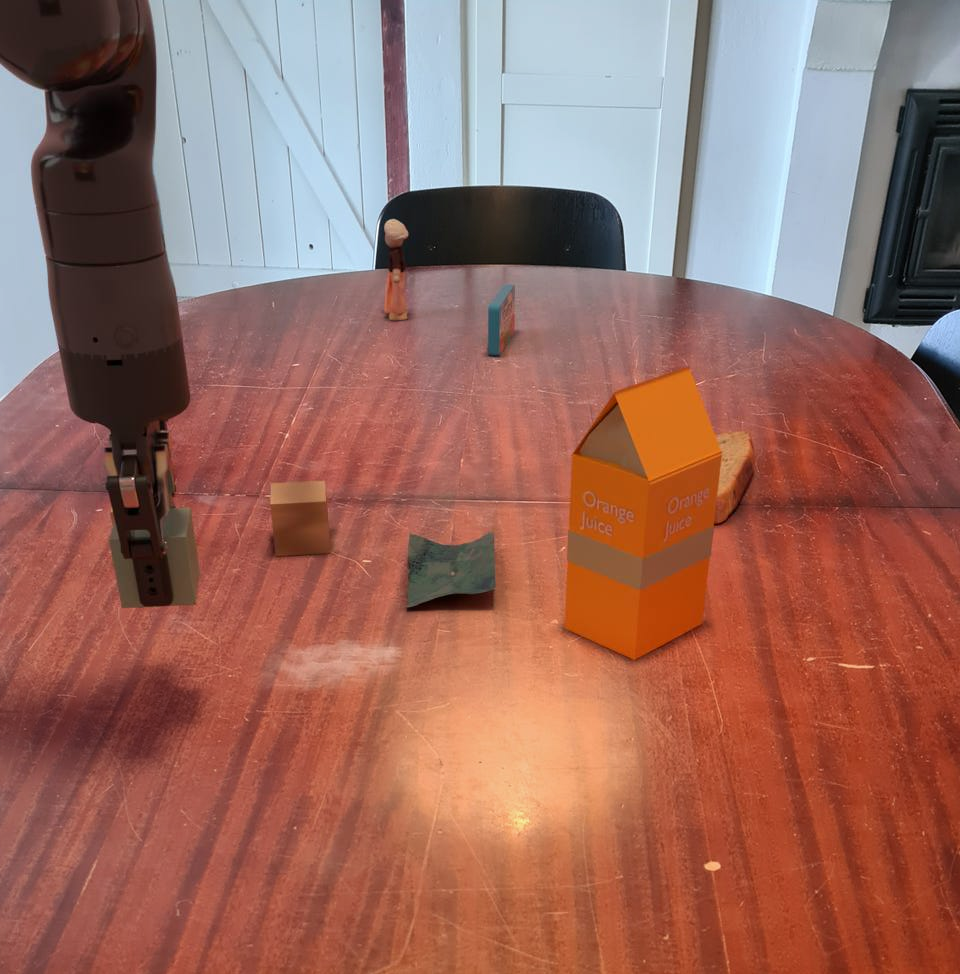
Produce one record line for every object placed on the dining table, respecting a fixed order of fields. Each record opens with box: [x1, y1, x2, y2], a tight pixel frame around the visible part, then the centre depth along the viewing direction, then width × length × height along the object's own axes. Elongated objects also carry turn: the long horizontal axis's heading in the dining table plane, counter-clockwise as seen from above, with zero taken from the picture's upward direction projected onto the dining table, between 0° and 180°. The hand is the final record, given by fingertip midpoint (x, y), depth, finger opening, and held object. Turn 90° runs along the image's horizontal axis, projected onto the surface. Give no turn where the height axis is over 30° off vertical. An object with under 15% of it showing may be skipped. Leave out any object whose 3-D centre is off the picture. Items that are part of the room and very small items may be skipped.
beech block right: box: [269, 480, 332, 557], centre depth 114 cm, size 5×5×5 cm
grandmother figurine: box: [383, 218, 409, 321], centre depth 173 cm, size 8×4×13 cm, turn 10°
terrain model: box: [406, 531, 497, 608], centre depth 109 cm, size 13×8×2 cm, turn 0°
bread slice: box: [714, 429, 757, 525], centre depth 126 cm, size 18×18×4 cm
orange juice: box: [564, 365, 723, 661], centre depth 96 cm, size 8×9×20 cm
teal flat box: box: [487, 283, 516, 357], centre depth 164 cm, size 12×2×6 cm, turn 169°
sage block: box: [108, 507, 201, 609], centre depth 85 cm, size 5×5×5 cm
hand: (160, 584), depth 86 cm, fingers closed on sage block, 5 cm apart
